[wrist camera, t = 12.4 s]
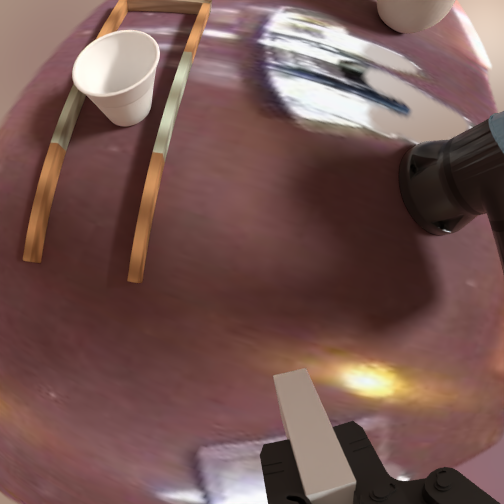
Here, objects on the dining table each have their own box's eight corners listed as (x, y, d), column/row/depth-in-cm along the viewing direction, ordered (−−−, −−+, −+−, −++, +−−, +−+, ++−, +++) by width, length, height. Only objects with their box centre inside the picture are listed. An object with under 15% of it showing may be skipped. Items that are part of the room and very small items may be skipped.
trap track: (142, 282, 36) (137, 282, 33) (33, 261, 33) (22, 260, 31) (210, 11, 41) (211, -1, 38) (124, 6, 38) (122, -5, 35)
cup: (82, 112, 36) (57, 67, 25) (137, 69, 38) (126, 18, 27) (122, 154, 37) (101, 113, 26) (180, 107, 38) (178, 56, 28)
